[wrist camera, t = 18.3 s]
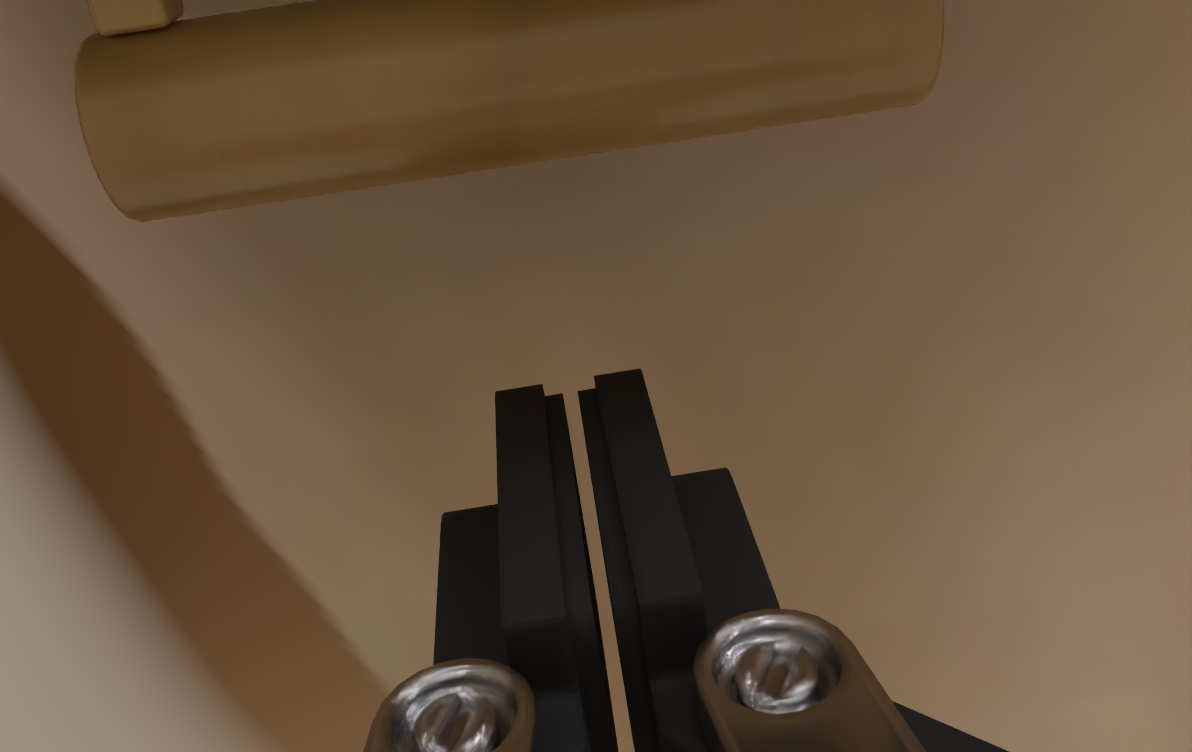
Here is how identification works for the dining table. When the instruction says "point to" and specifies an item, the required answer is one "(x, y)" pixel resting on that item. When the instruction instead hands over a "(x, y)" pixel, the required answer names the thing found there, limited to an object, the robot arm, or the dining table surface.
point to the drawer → (461, 86)
